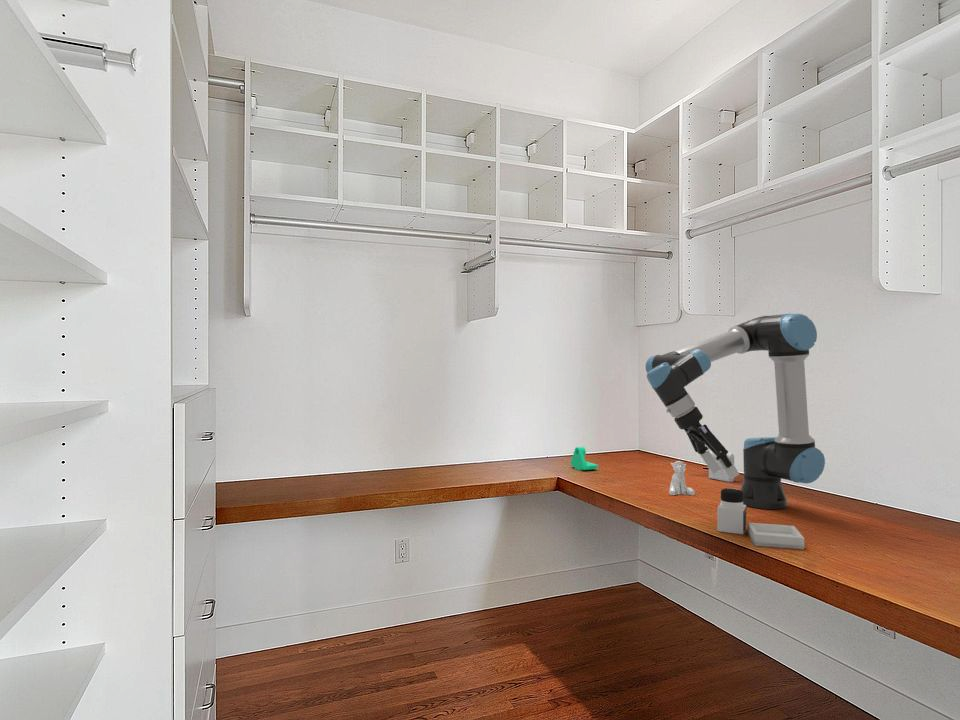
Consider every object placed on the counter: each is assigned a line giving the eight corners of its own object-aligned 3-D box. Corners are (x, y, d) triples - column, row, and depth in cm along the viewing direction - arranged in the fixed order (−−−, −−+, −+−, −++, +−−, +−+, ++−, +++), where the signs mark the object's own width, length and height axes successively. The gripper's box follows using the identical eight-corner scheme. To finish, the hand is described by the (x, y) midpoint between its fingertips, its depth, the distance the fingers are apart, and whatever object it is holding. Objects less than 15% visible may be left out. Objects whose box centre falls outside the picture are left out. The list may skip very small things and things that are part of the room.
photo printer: (735, 481, 243) (735, 451, 243) (730, 482, 240) (730, 452, 240) (712, 477, 251) (712, 448, 251) (707, 478, 248) (707, 449, 248)
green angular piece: (598, 471, 266) (598, 448, 266) (583, 472, 264) (583, 449, 264) (585, 466, 278) (585, 444, 278) (570, 467, 275) (570, 445, 275)
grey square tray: (747, 533, 171) (747, 522, 171) (793, 536, 167) (793, 525, 167) (754, 545, 159) (754, 534, 159) (804, 549, 156) (804, 538, 156)
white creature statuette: (670, 496, 217) (670, 463, 217) (662, 490, 226) (662, 459, 226) (695, 495, 217) (695, 463, 217) (686, 490, 226) (686, 459, 226)
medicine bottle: (743, 535, 169) (743, 493, 169) (717, 531, 172) (717, 490, 172) (746, 528, 175) (746, 488, 175) (720, 525, 179) (720, 485, 179)
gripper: (661, 418, 186) (699, 475, 185) (688, 419, 162) (732, 486, 160) (681, 405, 187) (719, 462, 185) (710, 405, 162) (755, 471, 160)
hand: (725, 473), depth 173 cm, fingers open, 13 cm apart
